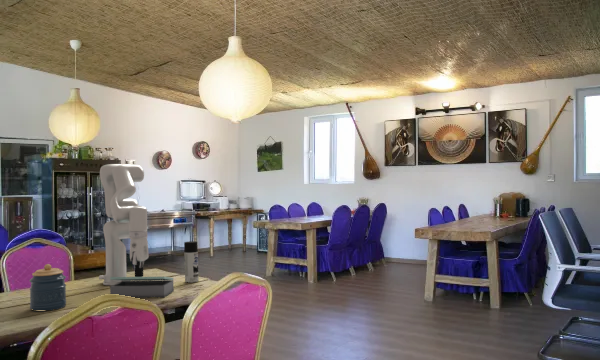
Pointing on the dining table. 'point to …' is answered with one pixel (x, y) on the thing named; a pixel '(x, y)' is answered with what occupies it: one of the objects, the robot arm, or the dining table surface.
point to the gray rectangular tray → (143, 288)
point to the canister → (48, 289)
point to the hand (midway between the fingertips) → (139, 276)
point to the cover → (140, 278)
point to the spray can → (191, 261)
